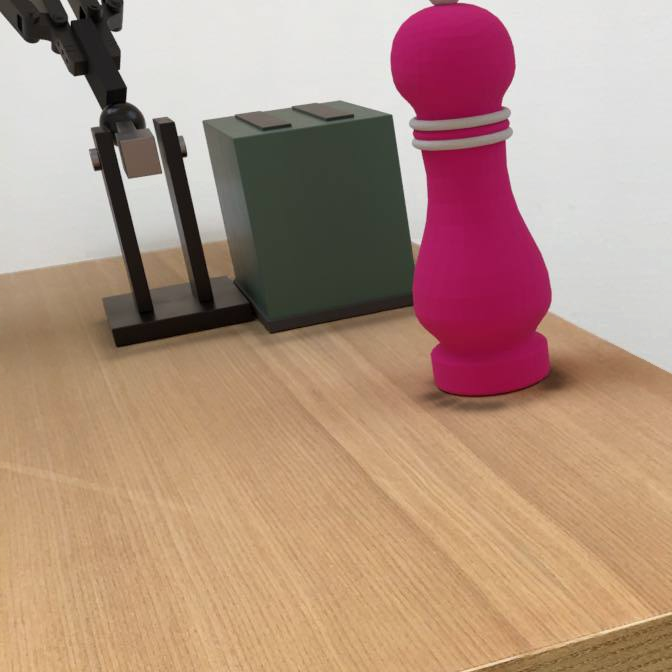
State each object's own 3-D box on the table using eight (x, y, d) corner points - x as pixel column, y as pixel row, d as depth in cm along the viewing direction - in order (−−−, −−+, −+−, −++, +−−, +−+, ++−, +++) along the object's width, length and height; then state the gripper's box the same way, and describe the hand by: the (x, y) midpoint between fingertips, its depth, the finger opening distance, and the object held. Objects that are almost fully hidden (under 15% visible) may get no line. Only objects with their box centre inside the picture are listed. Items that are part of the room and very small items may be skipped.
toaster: (234, 289, 91) (197, 117, 85) (370, 264, 94) (342, 96, 88) (269, 333, 78) (229, 135, 73) (424, 302, 81) (396, 110, 76)
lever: (103, 146, 90) (92, 100, 88) (147, 139, 91) (137, 94, 89) (121, 186, 79) (109, 135, 78) (171, 178, 80) (160, 128, 79)
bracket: (105, 314, 88) (57, 128, 82) (231, 290, 90) (192, 109, 85) (116, 347, 79) (62, 142, 74) (254, 320, 82) (212, 120, 76)
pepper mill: (398, 391, 65) (331, -21, 56) (479, 350, 70) (430, -33, 62) (507, 406, 61) (453, -34, 52) (585, 362, 66) (548, -46, 58)
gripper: (-105, -179, 87) (23, 79, 82) (77, -189, 93) (206, 51, 88) (-94, -91, 93) (26, 153, 89) (76, -106, 100) (196, 122, 95)
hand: (116, 102), depth 88 cm, fingers closed
